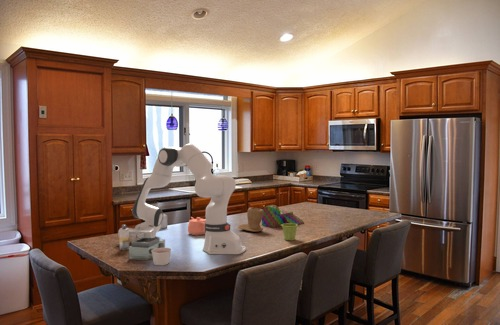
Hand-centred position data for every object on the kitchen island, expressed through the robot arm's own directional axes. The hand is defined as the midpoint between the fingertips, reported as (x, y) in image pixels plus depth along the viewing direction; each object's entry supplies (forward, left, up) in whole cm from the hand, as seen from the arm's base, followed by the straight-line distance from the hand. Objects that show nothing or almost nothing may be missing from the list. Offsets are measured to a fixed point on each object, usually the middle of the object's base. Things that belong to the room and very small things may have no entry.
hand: (129, 236), depth 215 cm
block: (-71, -80, -6) cm, 107 cm away
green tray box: (-17, +12, -6) cm, 22 cm away
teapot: (-24, -39, -6) cm, 47 cm away
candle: (-31, +24, -6) cm, 39 cm away
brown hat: (-55, -55, -6) cm, 78 cm away
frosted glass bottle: (0, +5, -6) cm, 7 cm away
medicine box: (+7, -50, -6) cm, 51 cm away
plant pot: (-82, -36, -6) cm, 90 cm away
